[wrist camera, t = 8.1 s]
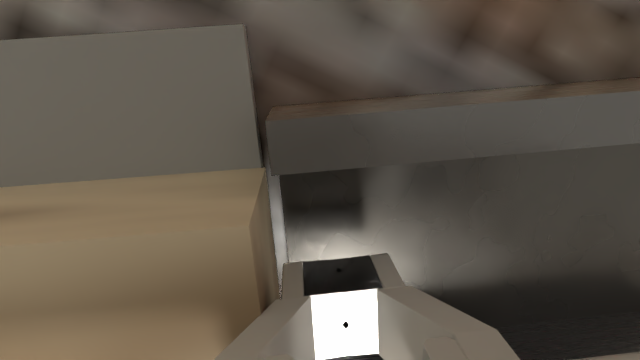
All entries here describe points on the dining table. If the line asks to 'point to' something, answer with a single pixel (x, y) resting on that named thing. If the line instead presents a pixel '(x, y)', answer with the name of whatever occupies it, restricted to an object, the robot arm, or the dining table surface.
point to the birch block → (134, 266)
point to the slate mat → (127, 105)
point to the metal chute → (481, 204)
